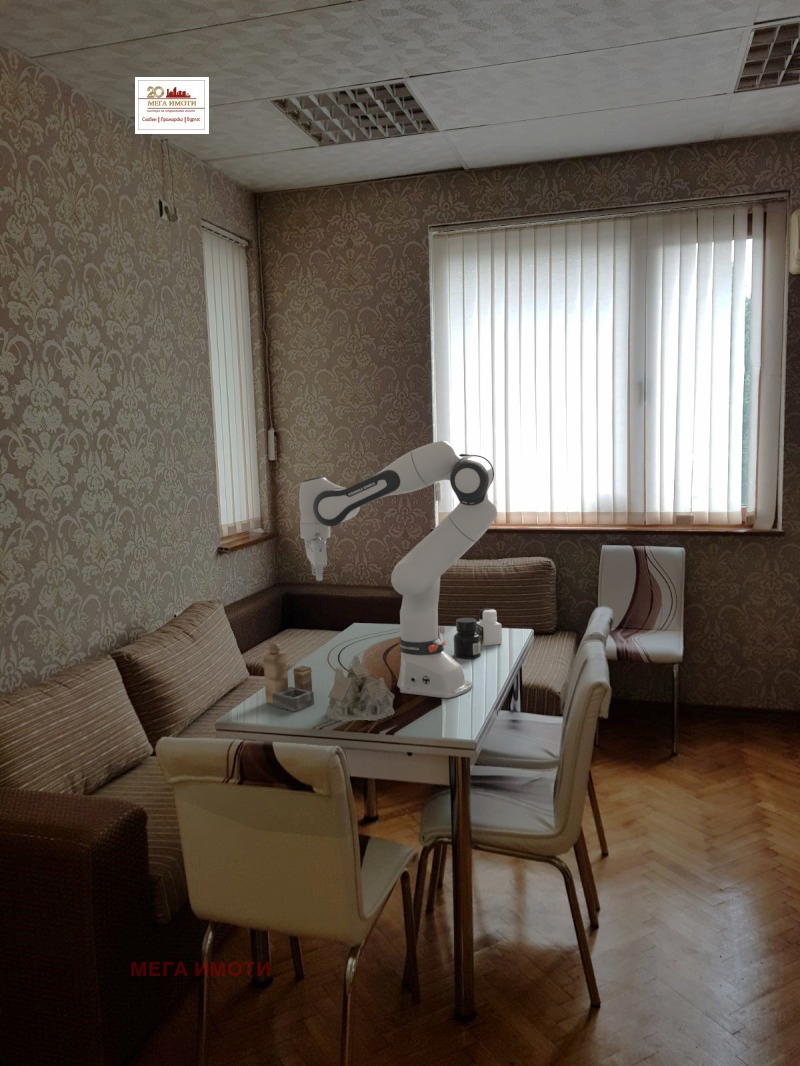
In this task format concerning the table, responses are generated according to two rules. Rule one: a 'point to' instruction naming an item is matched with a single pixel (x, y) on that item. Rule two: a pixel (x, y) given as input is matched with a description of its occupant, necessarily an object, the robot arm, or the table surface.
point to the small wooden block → (303, 678)
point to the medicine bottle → (489, 627)
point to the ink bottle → (466, 639)
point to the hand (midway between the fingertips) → (317, 577)
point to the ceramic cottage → (359, 695)
